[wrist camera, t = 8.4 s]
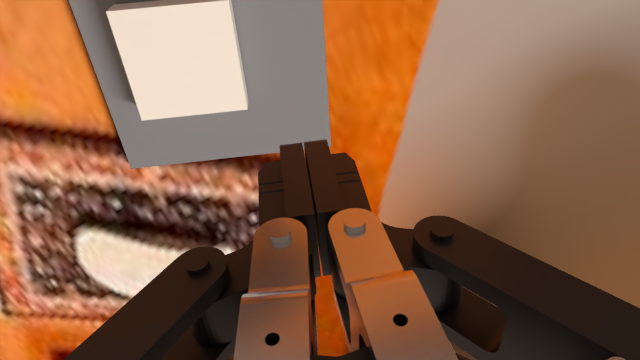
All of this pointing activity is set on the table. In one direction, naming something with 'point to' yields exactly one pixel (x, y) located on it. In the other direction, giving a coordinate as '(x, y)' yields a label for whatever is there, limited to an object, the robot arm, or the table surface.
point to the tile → (180, 56)
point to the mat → (260, 77)
